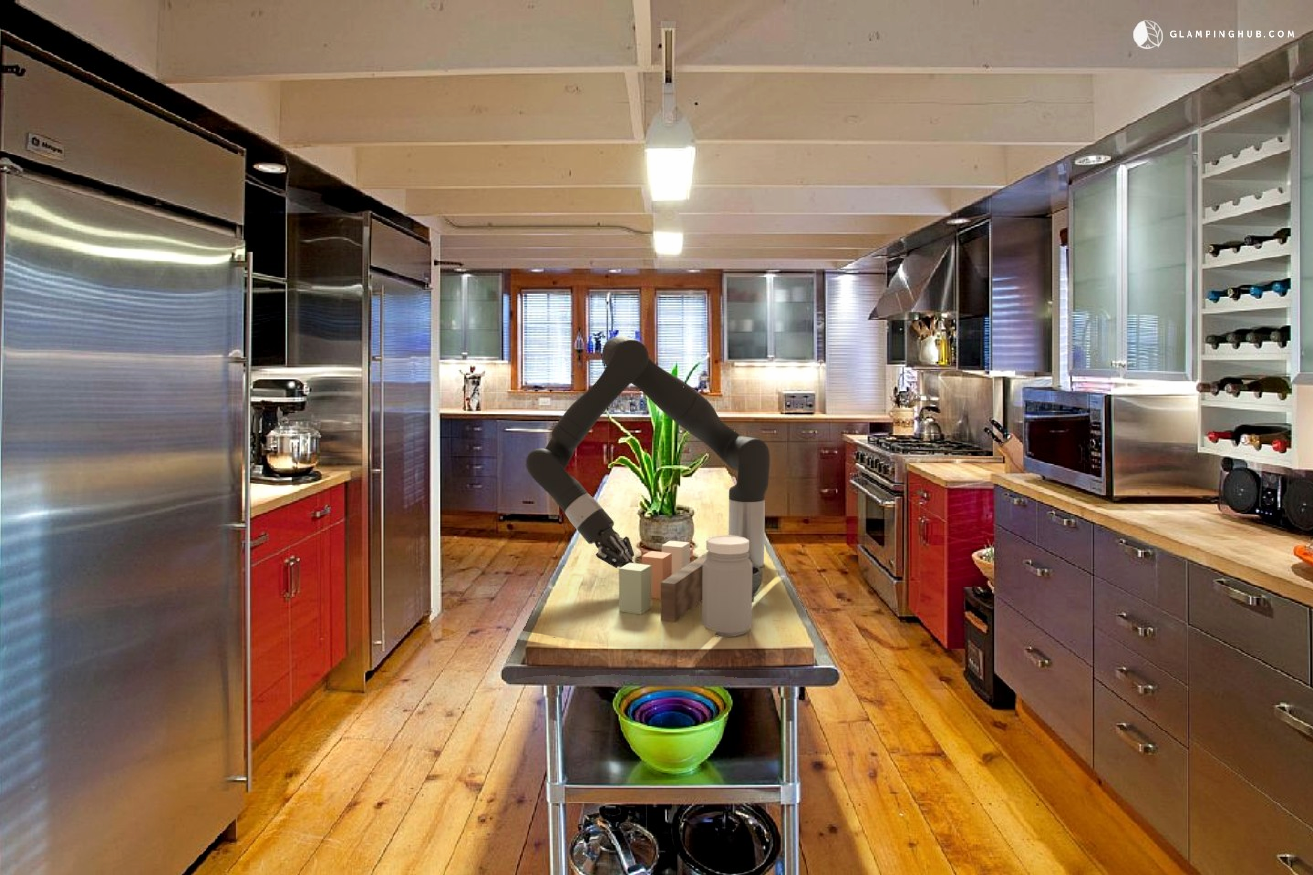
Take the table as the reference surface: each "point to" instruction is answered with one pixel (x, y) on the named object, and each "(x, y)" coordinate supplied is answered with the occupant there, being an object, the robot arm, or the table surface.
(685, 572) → the brown wooden block
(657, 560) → the salmon block
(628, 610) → the sage block
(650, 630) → the table surface
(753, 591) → the mortar and pestle
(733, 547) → the jar
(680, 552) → the beige block
